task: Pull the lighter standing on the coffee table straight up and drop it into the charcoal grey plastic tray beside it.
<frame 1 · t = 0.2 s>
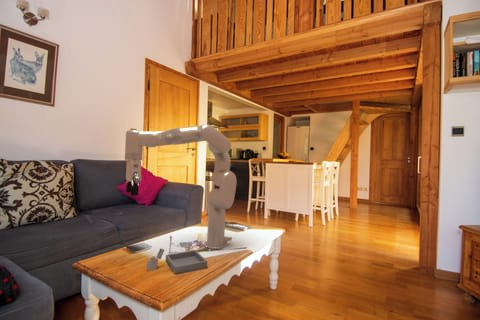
hand: (131, 193, 116), 31 cm above the table, tool pointing down, fingers open, 9 cm apart
lighter: (155, 268, 109), on the table
tray: (185, 264, 114), on the table
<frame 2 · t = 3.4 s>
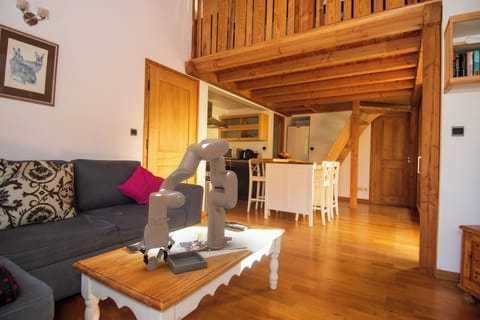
hand: (155, 261, 109), 3 cm above the table, tool pointing down, fingers closed on lighter, 7 cm apart
lighter: (155, 268, 109), on the table, touching gripper
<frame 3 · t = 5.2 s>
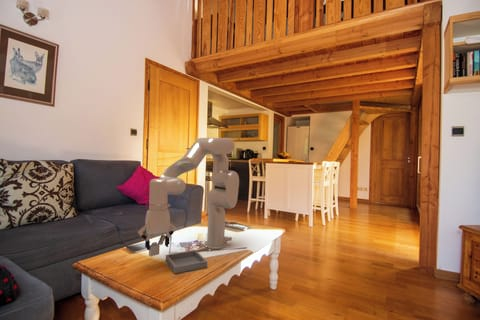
hand: (157, 247, 109), 9 cm above the table, tool pointing down, fingers closed on lighter, 7 cm apart
lighter: (157, 254, 109), point 6 cm above the table, touching gripper
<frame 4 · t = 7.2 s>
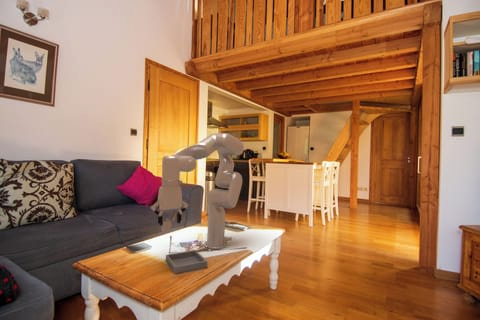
hand: (169, 223, 111), 19 cm above the table, tool pointing down, fingers closed on lighter, 7 cm apart
lighter: (169, 230, 111), point 16 cm above the table, touching gripper
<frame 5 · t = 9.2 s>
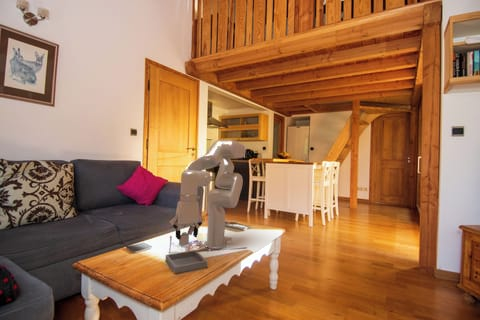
hand: (186, 237, 113), 12 cm above the table, tool pointing down, fingers closed on lighter, 7 cm apart
lighter: (186, 244, 113), point 9 cm above the table, touching gripper
when the fingers open (5 cm above the table, at t = 11.2 s): lighter drops 1 cm, resting on tray.
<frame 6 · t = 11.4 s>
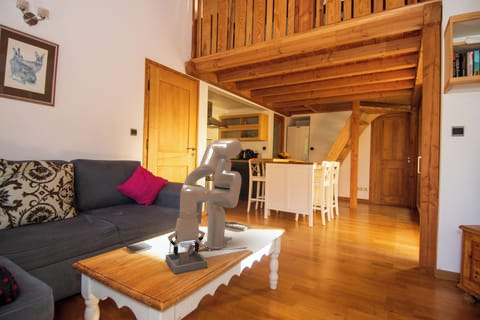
hand: (186, 253, 114), 5 cm above the table, tool pointing down, fingers open, 9 cm apart
lighter: (186, 263, 114), resting on tray
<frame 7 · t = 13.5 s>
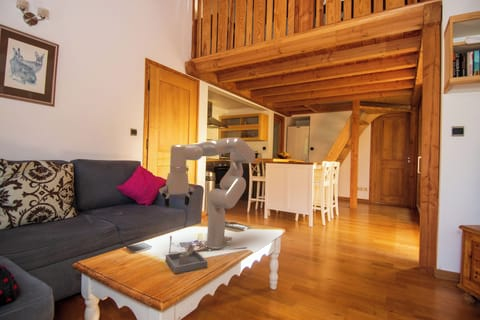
hand: (177, 205, 121), 25 cm above the table, tool pointing down, fingers open, 9 cm apart
nothing on the table moved.
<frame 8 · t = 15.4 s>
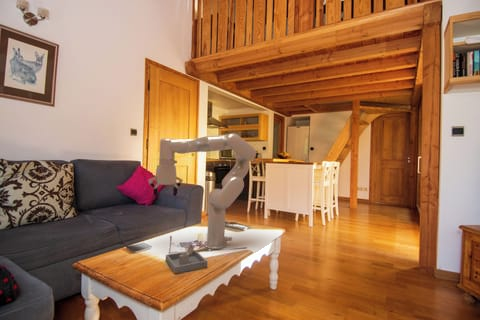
hand: (165, 195, 129), 28 cm above the table, tool pointing down, fingers open, 9 cm apart
nothing on the table moved.
at the end: lighter inside the target area on the tray (0.4 cm from its centre), point 0.3 cm above the tray's base; the gripper is holding nothing; lighter moved 13.5 cm from its start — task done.
